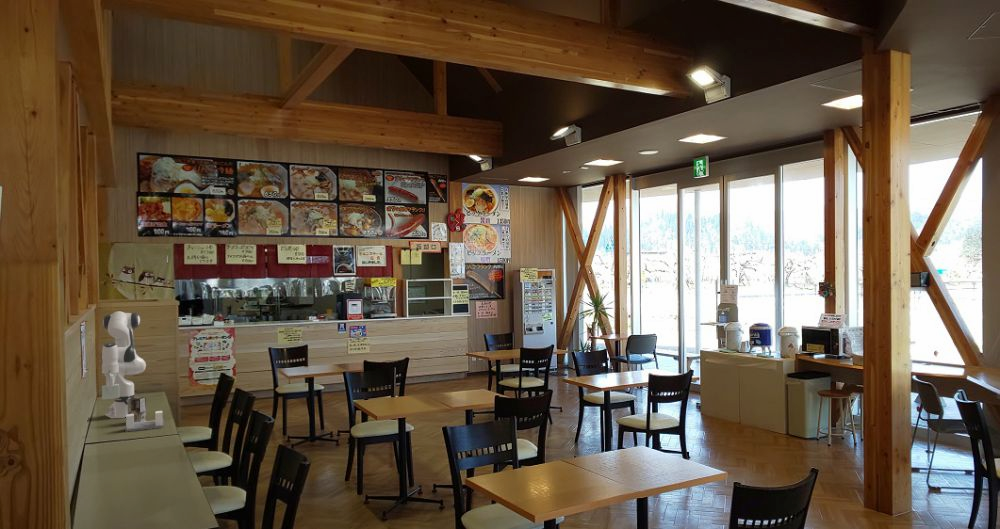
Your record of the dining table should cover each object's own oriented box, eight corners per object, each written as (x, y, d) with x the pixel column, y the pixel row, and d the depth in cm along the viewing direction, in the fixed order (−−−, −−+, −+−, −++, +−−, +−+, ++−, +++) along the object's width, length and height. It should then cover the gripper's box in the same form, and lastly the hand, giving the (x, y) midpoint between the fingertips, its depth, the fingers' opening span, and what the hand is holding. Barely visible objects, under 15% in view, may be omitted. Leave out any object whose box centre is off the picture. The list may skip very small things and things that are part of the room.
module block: (102, 398, 412) (102, 385, 412) (119, 396, 416) (119, 383, 416) (102, 399, 408) (101, 386, 408) (118, 398, 412) (118, 385, 412)
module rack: (126, 429, 421) (125, 413, 421) (163, 424, 431) (163, 410, 431) (125, 432, 413) (125, 416, 413) (163, 427, 423) (163, 412, 423)
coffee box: (146, 421, 441) (146, 397, 441) (140, 423, 435) (140, 399, 435) (133, 421, 442) (133, 397, 442) (127, 423, 436) (127, 398, 436)
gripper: (115, 371, 404) (115, 394, 404) (117, 367, 422) (117, 389, 422) (103, 372, 401) (103, 395, 401) (105, 368, 419) (105, 390, 419)
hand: (110, 392), depth 412 cm, fingers closed on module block, 4 cm apart
